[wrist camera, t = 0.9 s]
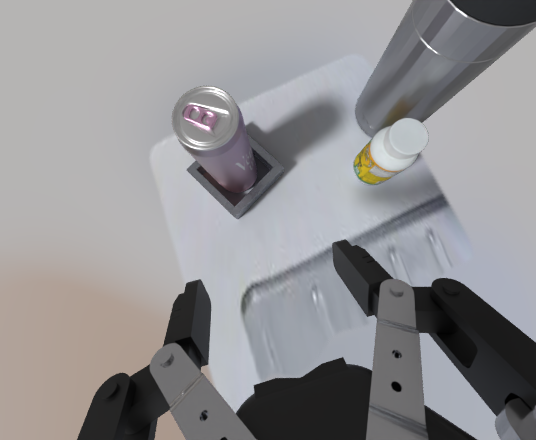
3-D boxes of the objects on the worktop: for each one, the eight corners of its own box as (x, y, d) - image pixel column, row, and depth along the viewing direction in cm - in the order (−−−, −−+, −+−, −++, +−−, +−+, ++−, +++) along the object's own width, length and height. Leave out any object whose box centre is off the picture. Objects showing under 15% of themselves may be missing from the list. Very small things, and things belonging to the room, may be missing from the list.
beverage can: (228, 149, 33) (188, 73, 19) (264, 163, 33) (252, 98, 18) (211, 184, 33) (156, 135, 18) (247, 200, 32) (221, 163, 18)
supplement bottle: (381, 191, 32) (426, 169, 22) (346, 178, 32) (374, 150, 23) (394, 158, 32) (443, 122, 23) (359, 145, 33) (392, 104, 23)
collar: (237, 130, 34) (234, 122, 31) (283, 172, 33) (283, 167, 30) (193, 175, 33) (186, 169, 31) (237, 219, 32) (234, 217, 30)
